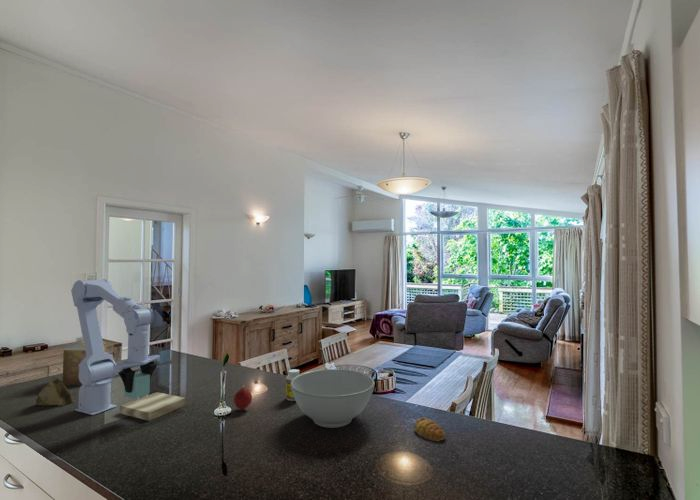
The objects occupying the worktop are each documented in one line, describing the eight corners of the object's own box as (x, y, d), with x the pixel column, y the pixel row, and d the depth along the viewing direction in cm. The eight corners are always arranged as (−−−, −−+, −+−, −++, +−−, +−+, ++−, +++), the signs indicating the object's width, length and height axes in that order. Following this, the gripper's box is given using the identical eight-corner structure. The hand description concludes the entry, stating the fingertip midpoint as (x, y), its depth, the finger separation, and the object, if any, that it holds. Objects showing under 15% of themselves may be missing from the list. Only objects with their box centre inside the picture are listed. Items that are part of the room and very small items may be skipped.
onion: (246, 414, 121) (246, 389, 121) (230, 412, 122) (231, 388, 123) (254, 407, 127) (254, 384, 127) (239, 406, 128) (239, 382, 128)
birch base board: (119, 413, 121) (120, 405, 122) (157, 399, 134) (157, 392, 134) (149, 420, 116) (149, 412, 116) (185, 405, 129) (185, 397, 129)
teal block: (124, 396, 116) (124, 376, 116) (139, 391, 121) (139, 372, 121) (134, 398, 114) (135, 379, 114) (149, 393, 119) (150, 374, 119)
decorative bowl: (391, 418, 118) (391, 380, 119) (331, 449, 99) (331, 403, 99) (333, 397, 136) (333, 364, 137) (272, 419, 117) (273, 381, 117)
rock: (24, 400, 126) (37, 401, 122) (41, 376, 131) (55, 376, 127) (54, 411, 133) (68, 413, 128) (70, 387, 138) (84, 388, 134)
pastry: (451, 439, 105) (451, 425, 105) (434, 445, 101) (434, 431, 102) (427, 426, 113) (427, 414, 113) (411, 432, 109) (410, 419, 109)
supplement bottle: (283, 400, 133) (283, 372, 133) (289, 395, 139) (289, 368, 139) (298, 402, 132) (298, 373, 132) (303, 396, 137) (303, 369, 138)
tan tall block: (88, 385, 149) (89, 338, 150) (62, 384, 149) (63, 337, 150) (105, 377, 160) (106, 333, 161) (81, 376, 160) (83, 332, 161)
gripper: (124, 352, 110) (123, 398, 109) (166, 343, 123) (165, 384, 122) (109, 350, 113) (108, 395, 112) (152, 341, 126) (151, 381, 125)
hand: (137, 389), depth 117 cm, fingers closed on teal block, 5 cm apart
